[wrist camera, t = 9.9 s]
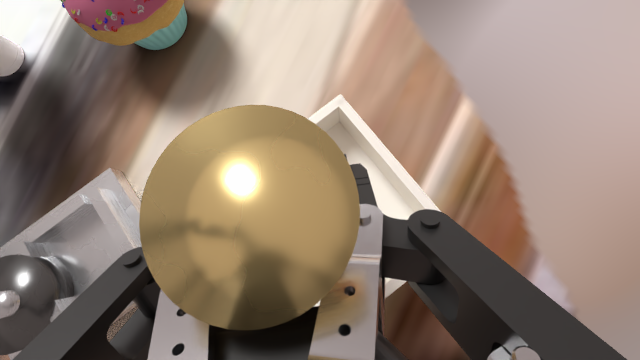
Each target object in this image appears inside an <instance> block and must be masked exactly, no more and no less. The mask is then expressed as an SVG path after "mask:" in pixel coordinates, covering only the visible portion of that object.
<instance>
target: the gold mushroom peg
mask: <svg viewBox="0 0 640 360" xmlns="http://www.w3.org/2000/svg"><path fill="white" fill-rule="evenodd" d="M359 222H360V204H359V194H358V189H357V185H356V180H355V178H354V175H353V172H352V169H351V167H350V165H349V163H348V161H347V159H346V157H345V155H344V154H343V152H342V151H341V150H340V148H339V147H338V145H337V144H336V143H335V142H334V140H333V139H332V138H331V137H330V136H329V135H328V134H327V133H326V132H325V131H324V130H322V129H321V128H320V127H319V126H317V125H316V124H315V123H313V122H312V121H310V120H308V119H307V118H305V117H303V116H301V115H299V114H296V113H294V112H292V111H289V110H285V109H282V108H279V107H272V106H266V105H245V106H237V107H232V108H227V109H224V110H221V111H218V112H215V113H212V114H210V115H208V116H206V117H204V118H202V119H200V120H198V121H197V122H195V123H194V124H192V125H191V126H189V127H188V128H186V129H185V130H184V131H183V132H182V133H180V134H179V135H178V136H177V137H176V138H175V139H174V140H173V141H172V142H171V143H170V144H169V145H168V146H167V148H166V149H165V150H164V152H163V153H162V154H161V156H160V157H159V159H158V160H157V162H156V164H155V165H154V167H153V169H152V171H151V173H150V176H149V178H148V180H147V182H146V186H145V189H144V192H143V196H142V201H141V207H140V218H139V229H140V240H141V245H142V250H143V254H144V257H145V260H146V262H147V265H148V268H149V270H150V272H151V274H152V276H153V278H154V279H155V281H156V283H157V284H158V285H159V287H160V288H161V290H162V291H163V292H164V293H165V295H166V296H167V297H168V298H169V299H170V300H171V301H172V302H173V303H174V304H175V305H177V306H178V307H179V308H180V309H182V310H183V311H184V312H186V313H187V314H189V315H191V316H192V317H194V318H196V319H198V320H200V321H202V322H205V323H207V324H210V325H212V326H217V327H221V328H225V329H233V330H258V329H263V328H268V327H273V326H276V325H279V324H282V323H285V322H288V321H290V320H292V319H294V318H296V317H298V316H300V315H301V314H303V313H304V312H306V311H307V310H309V309H310V308H312V307H313V306H315V305H316V304H317V303H318V302H319V301H320V300H321V299H322V298H323V297H325V296H326V295H327V293H328V292H329V291H330V290H331V289H332V288H333V286H334V285H335V284H336V283H337V281H338V280H339V278H340V277H341V275H342V274H343V272H344V270H345V269H346V267H347V264H348V262H349V260H350V258H351V256H352V253H353V250H354V247H355V244H356V241H357V235H358V230H359Z"/></svg>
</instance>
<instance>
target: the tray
mask: <svg viewBox="0 0 640 360" xmlns="http://www.w3.org/2000/svg"><path fill="white" fill-rule="evenodd" d="M308 120H310V121H312V122H313V123H315V124H316V125H317V126H319V127H320V128H321V129H322V130H324V131H325V132H326V133H327V134H328V135H329V136H330V137H331V138H332V139H333V140H334V142H335V143H336V144H337V145H338V147H339V148H340V150H341V151H342V152H343V154H346V156H347V161H348V163H349V165H352V164H359V163H360V164H361V165H362V166H364V167H365V168H366V169H367V172H368V175H369V179H370V182H371V186H372V189H373V192H374V196H375V199H376V203H377V206H378V208H379V209H380V210H381V211H382V213H383V214H385V215H386V216H389V217H391V218H395V219H404V220H408V218H409V216H410V215H411V214H413V213H414V212H416V211H419V210H423V209H432V210H437V211H440V210H439V209H438V208H437V206H436V205H435V204H434V203H433V202H432V201H431V199H430V198H429V197H428V196H427V195H426V194H425V192H424V191H423V190H422V189H421V188H420V187H419V185H418V184H417V183H416V182H415V181H414V180H413V178H412V177H411V176H410V175H409V174H408V172H407V171H406V170H405V169H404V168H403V167H402V165H401V164H400V163H399V162H398V161H397V160H396V158H395V157H394V156H393V155H392V154H391V153H390V151H389V150H388V149H387V148H386V147H385V146H384V144H383V143H382V142H381V141H380V140H379V138H378V137H377V136H376V135H375V134H374V133H373V131H372V130H371V129H370V128H369V127H368V126H367V124H366V123H365V122H364V121H363V120H362V119H361V117H360V116H359V115H358V114H357V113H356V112H355V110H354V109H353V108H352V107H351V106H350V104H349V103H348V102H347V101H346V100H345V99H344V97H343V96H342V95H341V94H340V95H338V96H337V97H336V98H334V99H333V100H332V101H330V102H329V103H328V104H326V105H325V106H324V107H322V108H321V109H320V110H318V111H317V112H316V113H314V114H313V115H312V116H310V117H309V118H308ZM440 212H441V211H440ZM405 282H406V281H404V280H397V279H391V278H385V298H386V297H388V296H389V295H390V294H391V293H393V292H394V291H395V290H396V289H398V288H399V287H400V286H401V285H403V284H404V283H405ZM319 305H320V301H319V302H318V303H317V304H316V305H315V306H319ZM315 306H313V307H315Z"/></svg>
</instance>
